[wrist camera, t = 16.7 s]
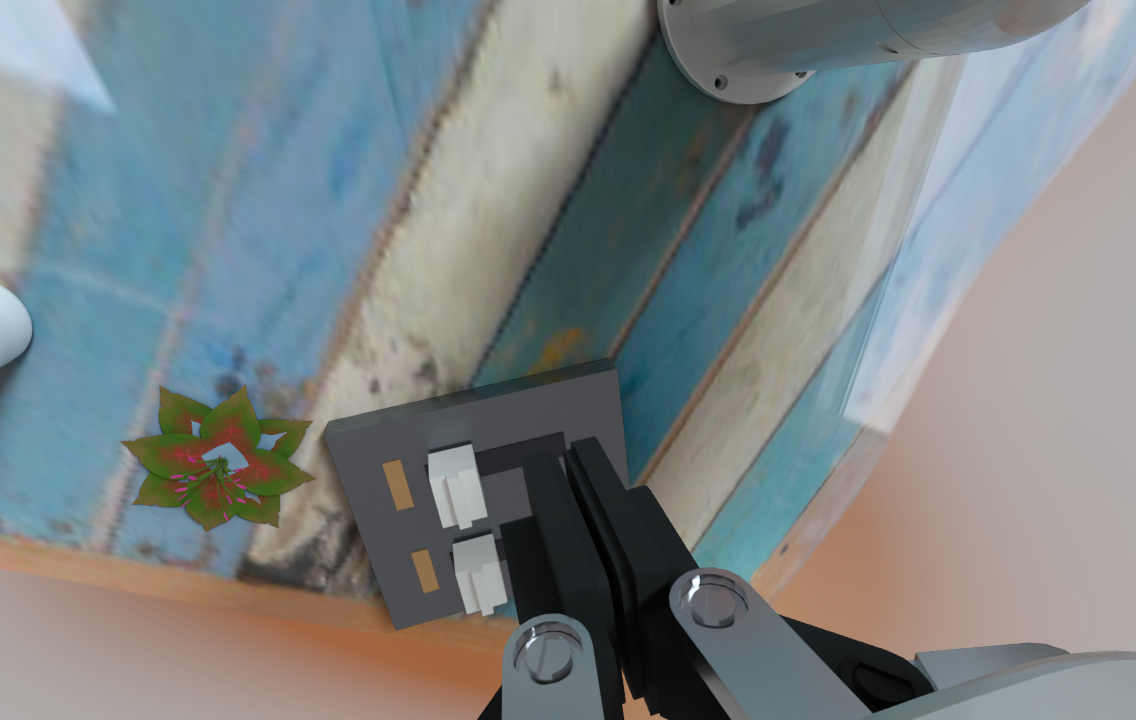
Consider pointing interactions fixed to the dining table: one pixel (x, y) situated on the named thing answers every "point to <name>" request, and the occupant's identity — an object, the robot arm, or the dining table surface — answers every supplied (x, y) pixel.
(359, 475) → the breaker panel
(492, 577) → the block
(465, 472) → the breaker
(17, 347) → the drinking glass
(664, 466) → the dining table surface
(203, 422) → the lily flower
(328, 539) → the dining table surface
